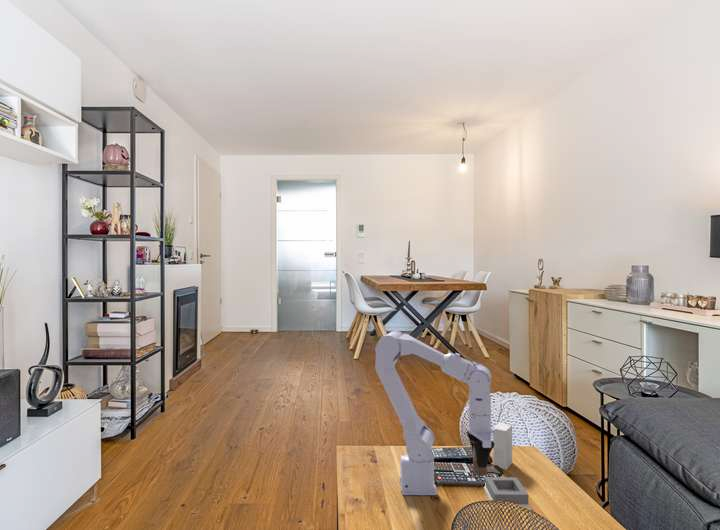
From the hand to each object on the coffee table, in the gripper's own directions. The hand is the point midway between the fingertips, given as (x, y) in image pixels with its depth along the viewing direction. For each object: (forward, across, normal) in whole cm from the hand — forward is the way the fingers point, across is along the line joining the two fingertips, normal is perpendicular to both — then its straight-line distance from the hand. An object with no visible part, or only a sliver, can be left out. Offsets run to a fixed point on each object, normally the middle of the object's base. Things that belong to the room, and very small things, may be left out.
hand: (480, 463), depth 113 cm
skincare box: (+10, +19, -12) cm, 24 cm away
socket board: (+10, 0, -7) cm, 12 cm away
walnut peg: (+2, 0, 0) cm, 2 cm away
